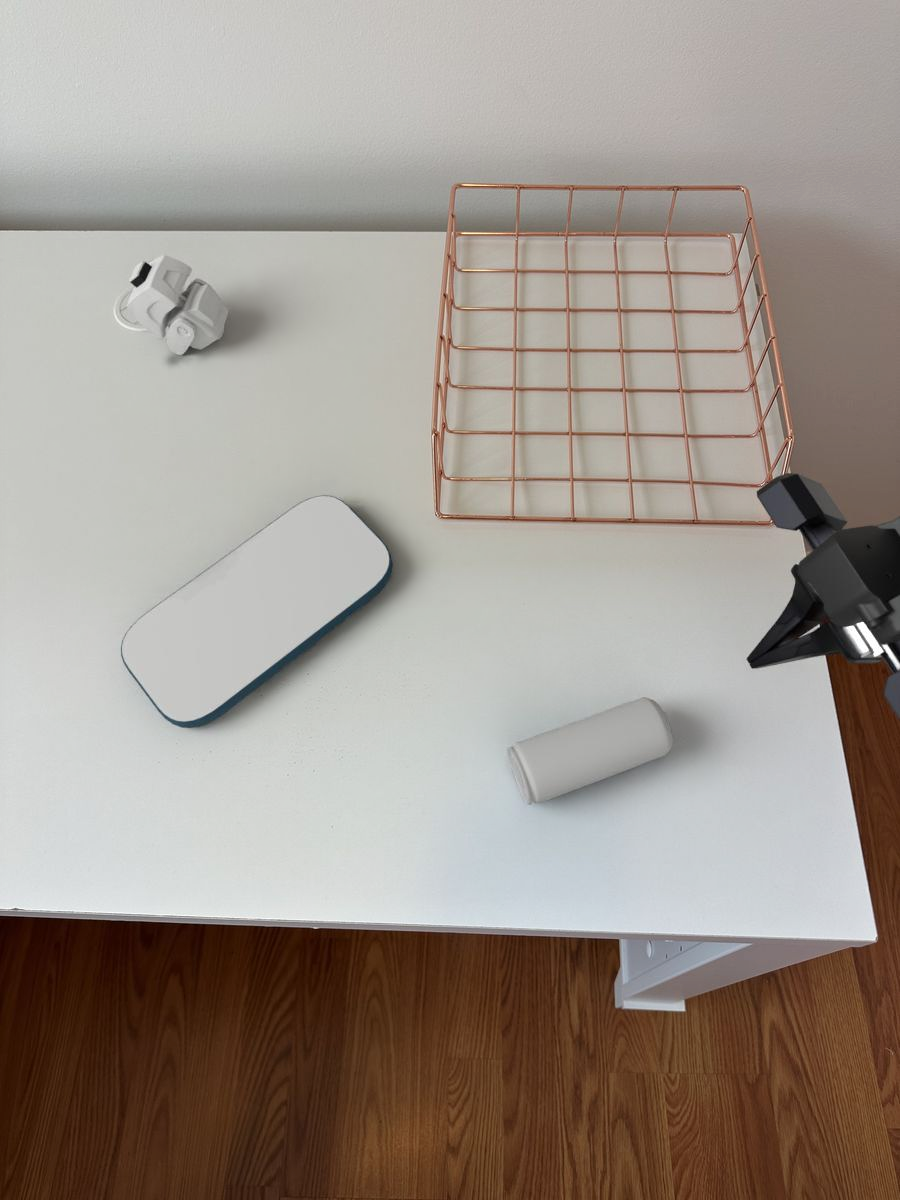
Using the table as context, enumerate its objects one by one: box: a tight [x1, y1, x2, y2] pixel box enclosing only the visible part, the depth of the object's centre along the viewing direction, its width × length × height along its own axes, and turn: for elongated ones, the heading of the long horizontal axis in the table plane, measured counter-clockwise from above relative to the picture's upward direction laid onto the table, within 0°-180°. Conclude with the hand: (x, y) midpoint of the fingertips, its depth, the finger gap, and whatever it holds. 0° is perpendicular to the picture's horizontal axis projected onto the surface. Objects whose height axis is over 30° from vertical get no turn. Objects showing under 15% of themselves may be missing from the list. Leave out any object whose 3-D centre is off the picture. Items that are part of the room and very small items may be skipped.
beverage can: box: [506, 696, 674, 805], centre depth 65 cm, size 5×5×12 cm
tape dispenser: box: [126, 254, 230, 356], centre depth 83 cm, size 6×7×10 cm
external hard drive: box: [120, 494, 394, 729], centre depth 72 cm, size 24×12×2 cm, turn 131°
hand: (751, 664), depth 59 cm, fingers closed
